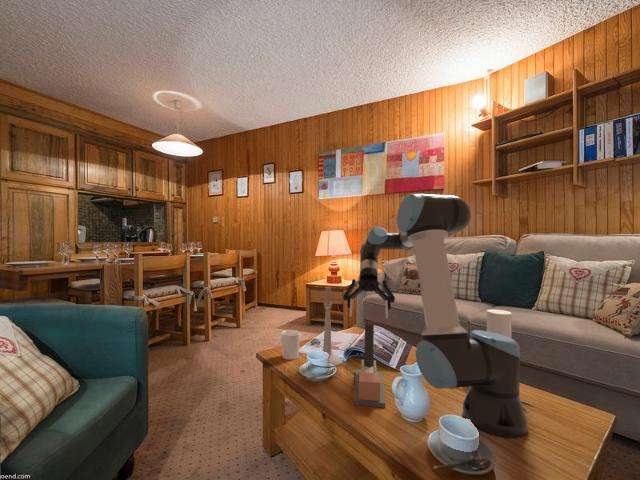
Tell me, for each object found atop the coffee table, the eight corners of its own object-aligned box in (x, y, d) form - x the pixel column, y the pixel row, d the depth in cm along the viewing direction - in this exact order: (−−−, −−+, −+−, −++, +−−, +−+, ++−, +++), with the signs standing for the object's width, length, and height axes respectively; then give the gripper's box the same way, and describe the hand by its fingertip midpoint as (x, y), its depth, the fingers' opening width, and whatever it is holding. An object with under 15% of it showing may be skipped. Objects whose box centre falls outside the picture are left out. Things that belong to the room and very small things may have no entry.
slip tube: (364, 368, 109) (364, 321, 109) (372, 369, 108) (373, 322, 108) (364, 384, 97) (364, 331, 97) (373, 385, 96) (374, 331, 96)
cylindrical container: (504, 381, 104) (504, 309, 105) (515, 392, 97) (516, 314, 98) (482, 380, 105) (483, 309, 105) (492, 390, 98) (493, 313, 98)
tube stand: (355, 373, 110) (356, 355, 110) (381, 375, 109) (381, 357, 109) (353, 404, 89) (354, 382, 89) (385, 407, 87) (385, 384, 87)
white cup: (281, 353, 128) (281, 330, 128) (299, 353, 129) (299, 329, 129) (280, 360, 121) (281, 335, 121) (300, 360, 121) (300, 335, 122)
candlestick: (324, 370, 112) (325, 289, 112) (305, 359, 123) (306, 285, 123) (349, 362, 120) (350, 286, 120) (329, 352, 130) (330, 283, 130)
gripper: (397, 278, 130) (401, 322, 116) (340, 277, 134) (336, 319, 119) (399, 267, 125) (403, 312, 110) (339, 266, 129) (335, 308, 114)
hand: (368, 315), depth 115 cm, fingers open, 13 cm apart
